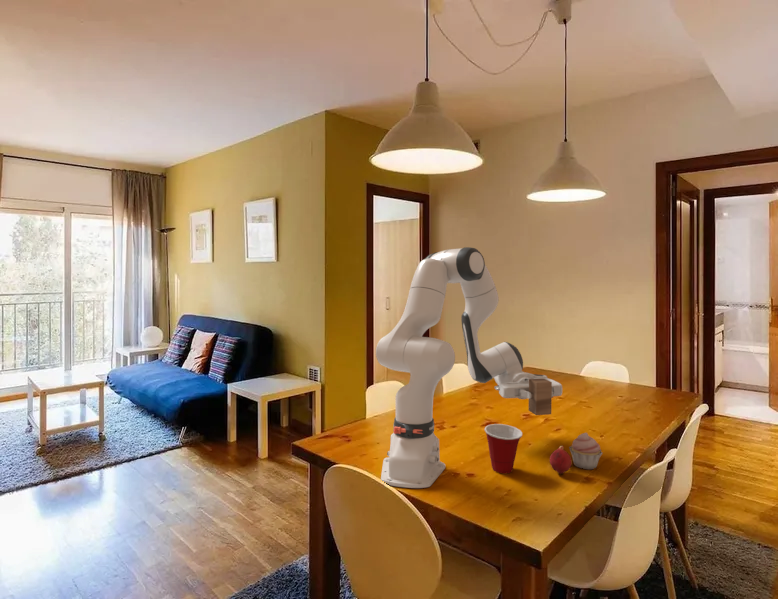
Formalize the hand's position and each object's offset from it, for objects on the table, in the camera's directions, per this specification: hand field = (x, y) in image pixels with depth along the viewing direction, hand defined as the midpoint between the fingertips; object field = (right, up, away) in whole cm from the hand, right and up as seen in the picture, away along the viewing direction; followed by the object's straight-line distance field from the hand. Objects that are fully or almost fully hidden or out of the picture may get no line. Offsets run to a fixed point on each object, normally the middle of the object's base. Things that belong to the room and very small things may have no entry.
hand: (541, 395), depth 144 cm
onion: (+2, -21, -10) cm, 23 cm away
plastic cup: (-14, -21, -7) cm, 26 cm away
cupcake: (+12, -20, -4) cm, 24 cm away
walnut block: (0, -5, +1) cm, 6 cm away
